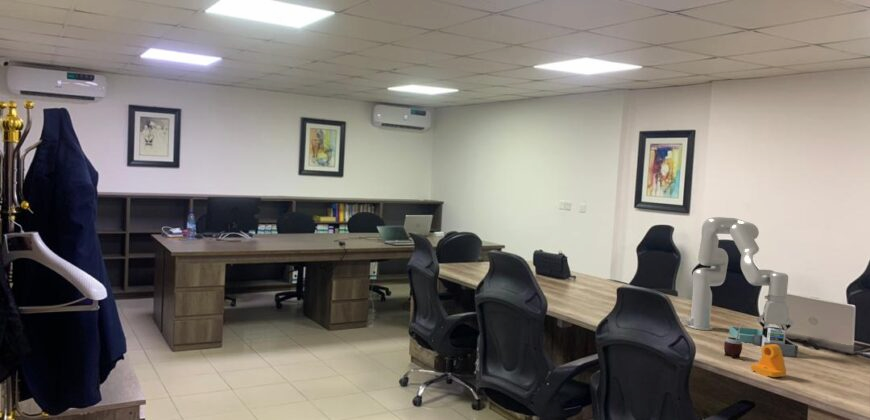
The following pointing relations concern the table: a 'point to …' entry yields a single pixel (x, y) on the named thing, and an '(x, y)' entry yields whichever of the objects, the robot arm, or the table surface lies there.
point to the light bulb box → (774, 335)
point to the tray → (744, 333)
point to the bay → (786, 348)
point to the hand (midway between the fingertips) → (773, 337)
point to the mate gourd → (733, 346)
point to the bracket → (770, 362)
